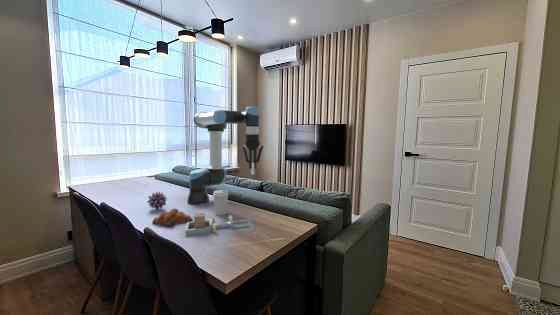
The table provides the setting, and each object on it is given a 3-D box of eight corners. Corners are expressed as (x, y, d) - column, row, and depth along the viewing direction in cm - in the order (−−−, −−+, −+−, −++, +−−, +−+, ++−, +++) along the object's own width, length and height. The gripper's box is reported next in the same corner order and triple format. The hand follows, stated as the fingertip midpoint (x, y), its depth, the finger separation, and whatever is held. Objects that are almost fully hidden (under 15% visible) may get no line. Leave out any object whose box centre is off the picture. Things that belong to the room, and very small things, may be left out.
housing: (182, 227, 128) (182, 219, 128) (249, 220, 139) (249, 213, 139) (179, 240, 113) (179, 231, 113) (254, 231, 124) (254, 223, 123)
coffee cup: (225, 218, 142) (224, 193, 141) (210, 217, 144) (209, 192, 143) (231, 213, 152) (231, 189, 150) (217, 211, 153) (217, 188, 152)
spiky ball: (168, 205, 165) (167, 188, 163) (166, 211, 153) (165, 193, 152) (149, 207, 161) (148, 190, 160) (146, 213, 150) (145, 194, 148)
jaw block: (195, 227, 126) (194, 212, 125) (205, 226, 127) (204, 212, 126) (194, 232, 120) (194, 216, 119) (205, 231, 121) (204, 215, 120)
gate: (209, 225, 129) (208, 216, 128) (231, 223, 132) (231, 214, 132) (209, 231, 121) (209, 221, 120) (232, 228, 124) (232, 219, 124)
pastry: (162, 231, 123) (161, 216, 123) (151, 223, 134) (150, 209, 133) (193, 222, 136) (193, 208, 135) (181, 216, 146) (180, 203, 145)
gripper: (242, 134, 134) (242, 175, 136) (264, 134, 138) (264, 174, 140) (240, 133, 141) (240, 173, 143) (262, 134, 145) (261, 172, 147)
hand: (252, 174), depth 142 cm, fingers closed
